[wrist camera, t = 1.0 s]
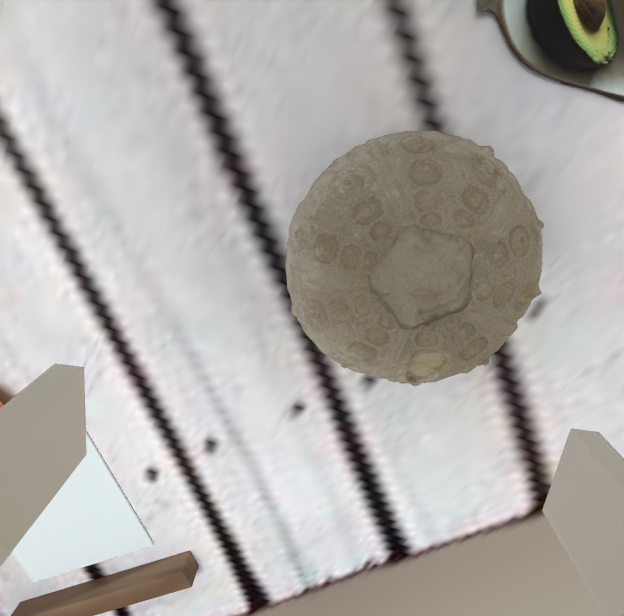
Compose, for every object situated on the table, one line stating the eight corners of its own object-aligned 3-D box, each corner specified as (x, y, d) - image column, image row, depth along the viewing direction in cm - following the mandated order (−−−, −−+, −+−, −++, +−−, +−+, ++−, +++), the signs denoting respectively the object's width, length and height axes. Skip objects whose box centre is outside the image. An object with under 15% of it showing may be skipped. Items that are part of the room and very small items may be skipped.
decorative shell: (543, 304, 40) (611, 352, 30) (344, 386, 42) (349, 453, 33) (467, 90, 35) (520, 66, 25) (250, 198, 38) (224, 213, 28)
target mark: (-43, 473, 46) (-44, 474, 46) (84, 428, 44) (83, 429, 44) (34, 580, 50) (33, 582, 50) (153, 543, 48) (153, 545, 48)
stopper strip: (20, 602, 51) (4, 624, 49) (189, 550, 48) (182, 571, 46) (30, 616, 52) (15, 638, 49) (198, 565, 49) (191, 586, 46)
